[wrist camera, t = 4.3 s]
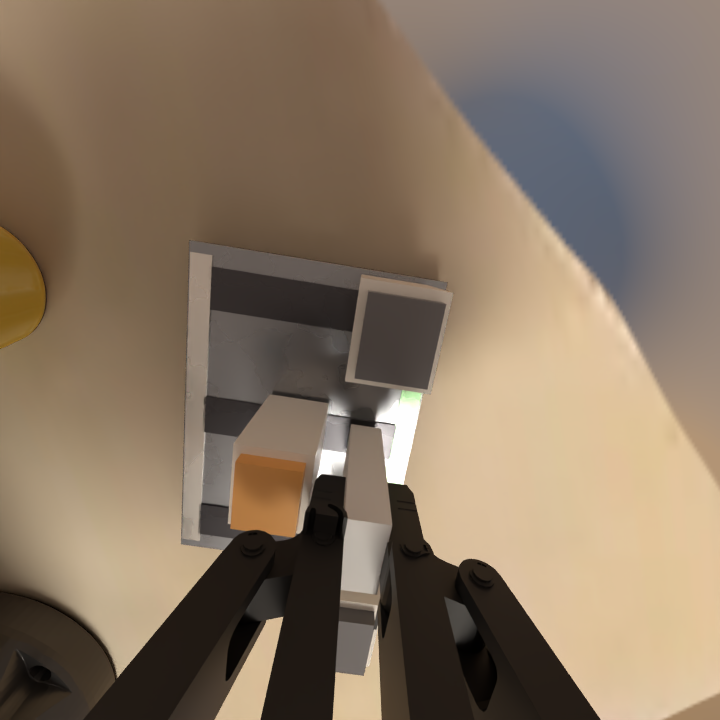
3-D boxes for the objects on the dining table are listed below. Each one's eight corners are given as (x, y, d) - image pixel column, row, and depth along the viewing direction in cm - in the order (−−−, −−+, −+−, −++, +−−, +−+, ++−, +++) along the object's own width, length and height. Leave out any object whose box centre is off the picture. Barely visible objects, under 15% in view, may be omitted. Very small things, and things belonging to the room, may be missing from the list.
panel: (197, 519, 22) (180, 545, 20) (208, 243, 18) (188, 240, 16) (382, 545, 22) (384, 573, 20) (438, 280, 18) (448, 282, 16)
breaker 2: (316, 563, 20) (299, 673, 15) (324, 513, 19) (309, 610, 14) (367, 570, 20) (369, 682, 15) (378, 520, 19) (383, 620, 14)
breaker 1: (263, 455, 18) (221, 535, 13) (269, 394, 17) (227, 452, 12) (320, 464, 18) (301, 546, 13) (329, 403, 17) (313, 464, 12)
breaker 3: (350, 348, 17) (343, 386, 11) (361, 274, 16) (360, 278, 10) (411, 357, 17) (434, 400, 11) (426, 284, 16) (458, 294, 10)
